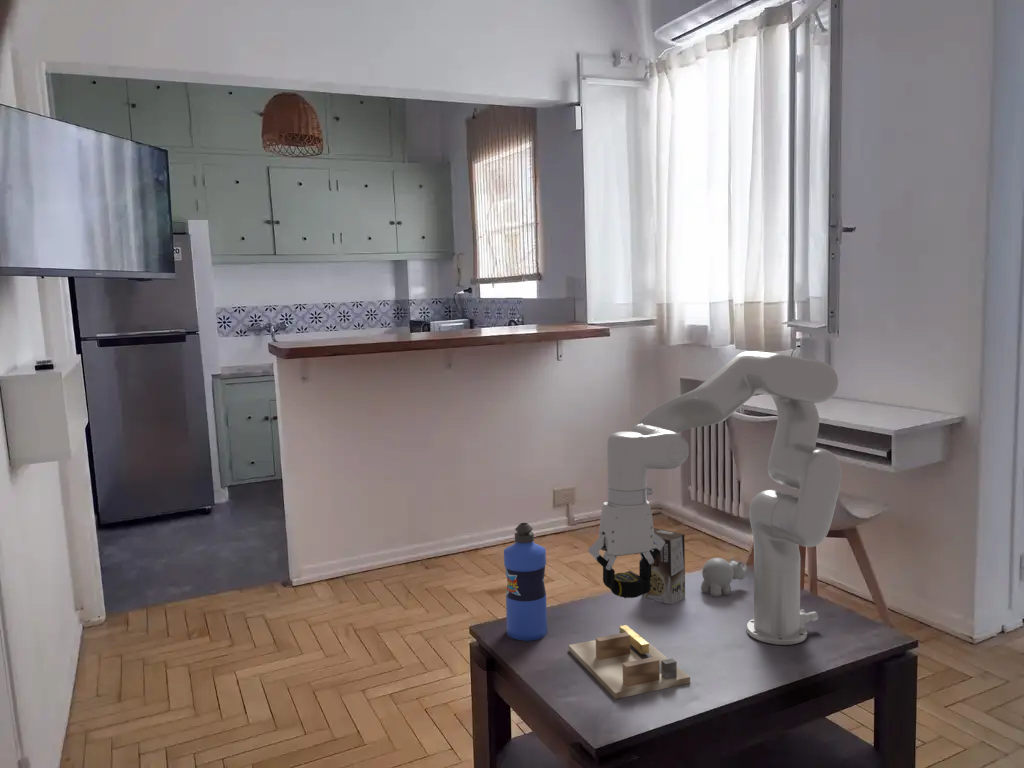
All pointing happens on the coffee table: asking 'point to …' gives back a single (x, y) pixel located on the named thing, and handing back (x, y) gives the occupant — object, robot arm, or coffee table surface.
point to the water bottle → (525, 586)
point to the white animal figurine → (721, 575)
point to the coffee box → (668, 569)
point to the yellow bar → (636, 640)
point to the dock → (616, 670)
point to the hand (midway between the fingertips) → (627, 583)
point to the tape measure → (630, 585)
